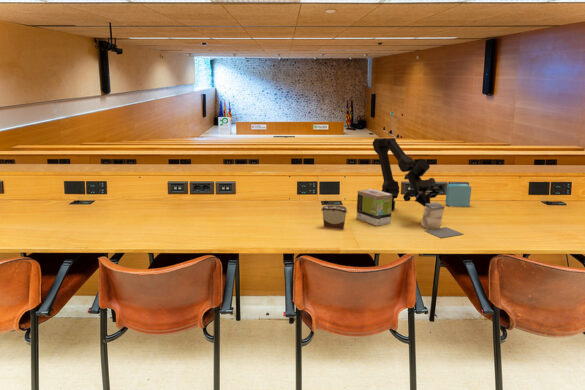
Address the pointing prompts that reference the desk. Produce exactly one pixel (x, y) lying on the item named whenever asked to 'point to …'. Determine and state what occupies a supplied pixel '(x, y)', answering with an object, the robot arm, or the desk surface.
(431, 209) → the cream block
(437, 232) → the mat
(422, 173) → the robot arm
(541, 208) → the desk surface
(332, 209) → the food container
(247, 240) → the desk surface
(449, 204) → the teal square slab
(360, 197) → the tea box
